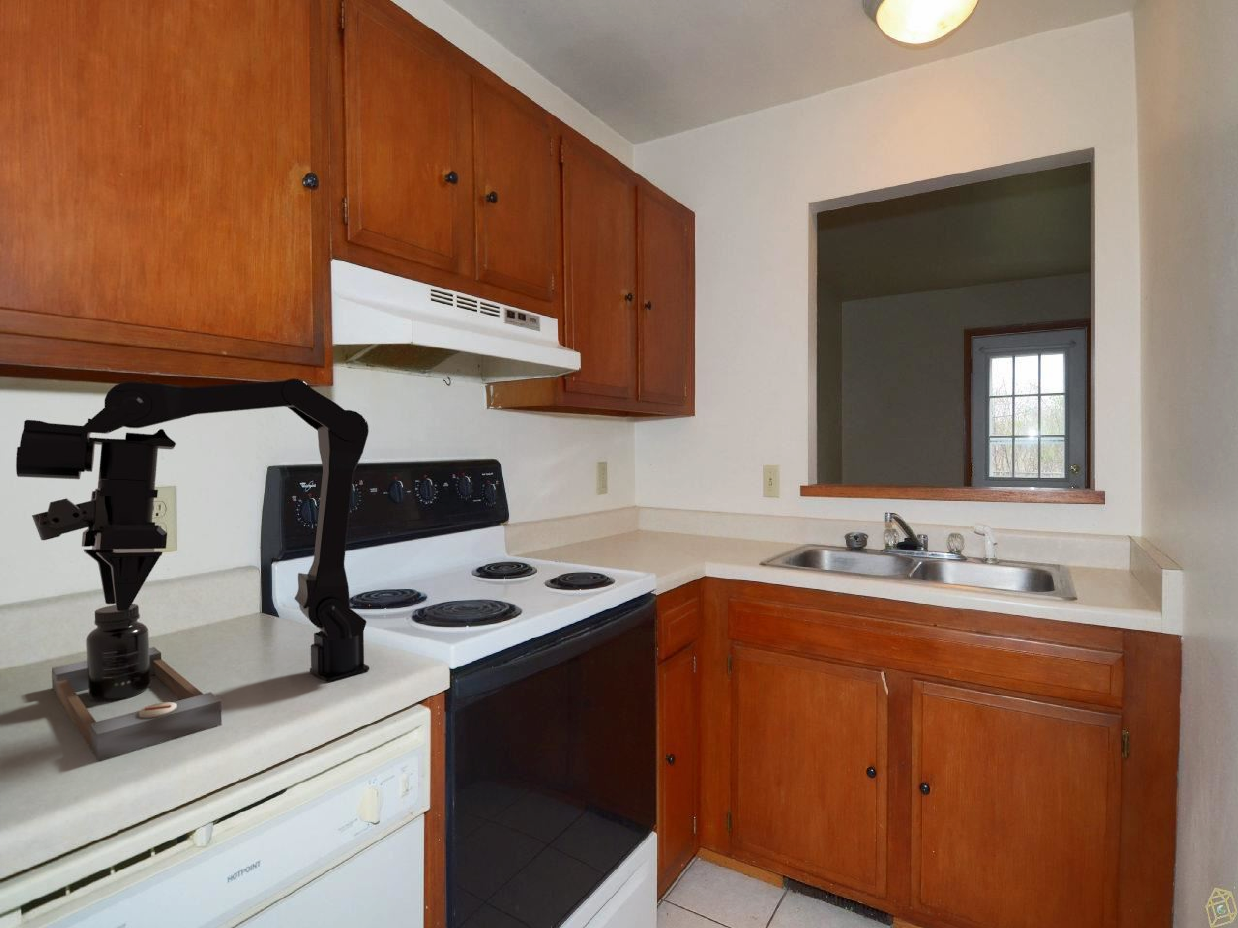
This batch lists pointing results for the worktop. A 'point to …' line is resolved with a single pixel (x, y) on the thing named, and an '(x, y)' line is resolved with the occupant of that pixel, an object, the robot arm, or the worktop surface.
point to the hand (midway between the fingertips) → (116, 607)
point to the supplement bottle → (117, 655)
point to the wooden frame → (141, 725)
